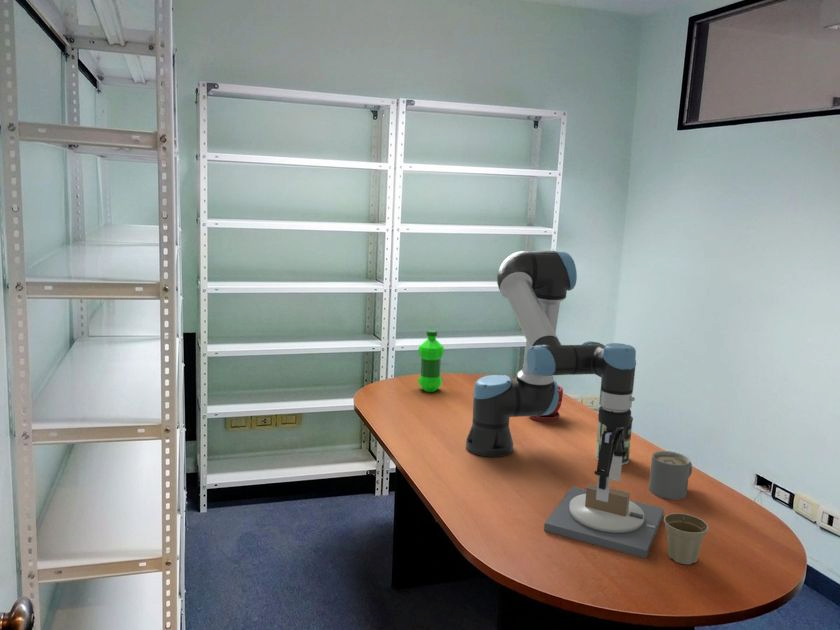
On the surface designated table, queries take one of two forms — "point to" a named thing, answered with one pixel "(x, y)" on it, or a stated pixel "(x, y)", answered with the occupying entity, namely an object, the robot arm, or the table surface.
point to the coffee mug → (669, 475)
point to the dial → (607, 511)
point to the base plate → (623, 542)
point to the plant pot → (554, 414)
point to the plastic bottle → (430, 362)
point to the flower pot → (684, 537)
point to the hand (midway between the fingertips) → (608, 490)
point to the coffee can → (626, 440)
